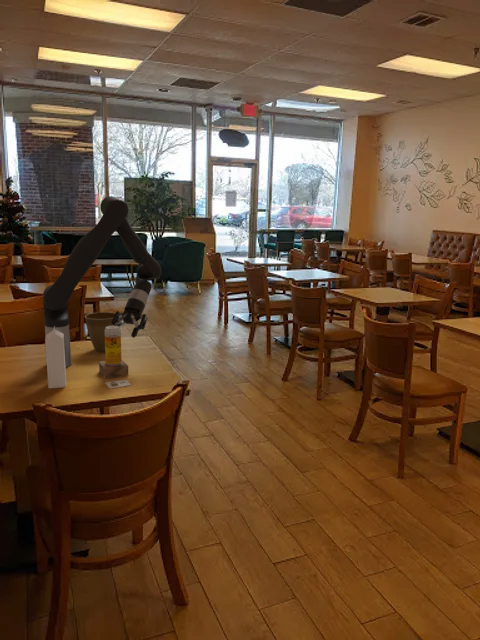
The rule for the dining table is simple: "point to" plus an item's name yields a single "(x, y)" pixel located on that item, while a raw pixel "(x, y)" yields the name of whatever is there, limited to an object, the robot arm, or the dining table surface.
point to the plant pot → (98, 328)
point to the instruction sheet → (117, 384)
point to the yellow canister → (113, 345)
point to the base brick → (113, 370)
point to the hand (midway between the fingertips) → (123, 335)
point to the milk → (55, 359)
